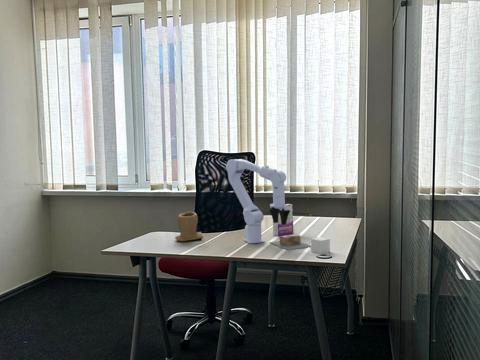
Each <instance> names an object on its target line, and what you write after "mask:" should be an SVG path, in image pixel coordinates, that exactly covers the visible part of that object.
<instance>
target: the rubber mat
mask: <svg viewBox="0 0 480 360" xmlns="http://www.w3.org/2000/svg"><path fill="white" fill-rule="evenodd" d="M269 244H270V245H272V246H276V247H278V248H280V249H283V250H285V251H291V250H299V249H307V248H308V247H309V248H311V244H308V243H305V242H303V241H300V244H295V245H289V246H283V245H280V240H277V241H270V242H269Z"/></svg>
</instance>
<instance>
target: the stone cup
mask: <svg viewBox="0 0 480 360" xmlns="http://www.w3.org/2000/svg"><path fill="white" fill-rule="evenodd" d="M198 220H199V217H198V214H197V213H196V212H194V211H186V212H183V213H180V214H178V216H177V225H178V228H179V231H180V232H179V233H180V234H179V235H177V236H175V240H176V241H178V242H188V241H189V242H190V241H196V240H201V239H204V236H203V234H202V231H197V226H198Z"/></svg>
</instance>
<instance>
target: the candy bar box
mask: <svg viewBox="0 0 480 360" xmlns="http://www.w3.org/2000/svg"><path fill="white" fill-rule="evenodd" d="M285 205H287V206H289V210H290V213H289V215H288V218H287V222H286V224H285V225H282V224H281V217H280V214H279V215H278V223H274V222H273V221H272V234H273V236H276V237H280V236H286V235H293V234H294V208H293V207H294V206H293V204H291V203H285ZM280 210H282V209H280Z"/></svg>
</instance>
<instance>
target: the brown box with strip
mask: <svg viewBox="0 0 480 360" xmlns="http://www.w3.org/2000/svg"><path fill="white" fill-rule="evenodd" d="M279 241H280V245H283V246H289V245H295V244H300V242H301V235H300V234H299V235H298V234H295V233H293V234H289V235H283V236H279Z"/></svg>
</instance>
